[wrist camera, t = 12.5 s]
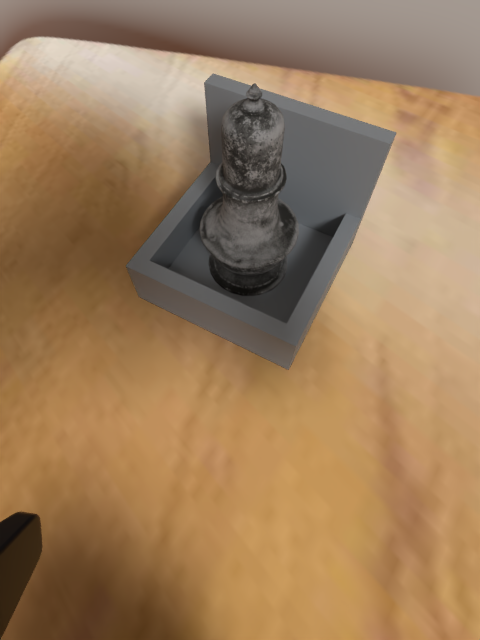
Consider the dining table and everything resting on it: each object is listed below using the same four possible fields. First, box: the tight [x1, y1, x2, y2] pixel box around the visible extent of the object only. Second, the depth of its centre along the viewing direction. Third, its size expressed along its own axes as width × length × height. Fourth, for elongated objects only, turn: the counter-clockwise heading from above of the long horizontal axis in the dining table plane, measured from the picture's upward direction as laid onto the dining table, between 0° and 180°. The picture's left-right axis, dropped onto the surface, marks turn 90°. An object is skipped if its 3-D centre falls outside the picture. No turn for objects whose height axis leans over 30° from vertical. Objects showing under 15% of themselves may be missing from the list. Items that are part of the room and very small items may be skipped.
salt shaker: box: [200, 84, 299, 296], centre depth 21 cm, size 6×6×12 cm
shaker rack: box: [126, 74, 396, 370], centre depth 23 cm, size 11×11×9 cm
